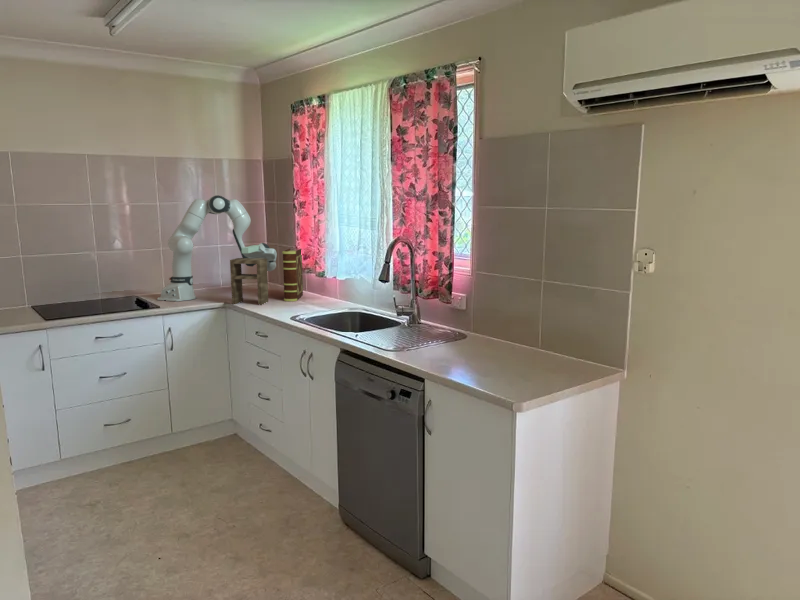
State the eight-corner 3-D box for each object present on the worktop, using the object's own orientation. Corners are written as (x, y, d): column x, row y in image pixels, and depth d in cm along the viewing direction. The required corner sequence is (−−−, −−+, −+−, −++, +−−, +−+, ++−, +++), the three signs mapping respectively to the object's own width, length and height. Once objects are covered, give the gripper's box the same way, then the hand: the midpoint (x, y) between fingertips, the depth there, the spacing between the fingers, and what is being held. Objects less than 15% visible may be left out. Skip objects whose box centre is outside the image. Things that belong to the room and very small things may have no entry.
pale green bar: (241, 253, 340) (241, 248, 339) (254, 250, 358) (254, 245, 358) (248, 253, 339) (248, 248, 339) (260, 250, 358) (260, 245, 357)
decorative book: (296, 301, 355) (295, 251, 349) (283, 301, 355) (281, 251, 350) (303, 295, 377) (301, 248, 372) (290, 295, 377) (289, 248, 372)
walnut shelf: (232, 304, 345) (229, 259, 341) (239, 301, 356) (237, 258, 352) (261, 305, 343) (259, 260, 338) (268, 301, 354) (266, 258, 349)
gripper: (247, 252, 370) (239, 242, 357) (279, 252, 367) (272, 242, 354) (246, 261, 368) (237, 252, 355) (277, 261, 365) (270, 252, 352)
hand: (255, 247), depth 355 cm, fingers closed on pale green bar, 4 cm apart
